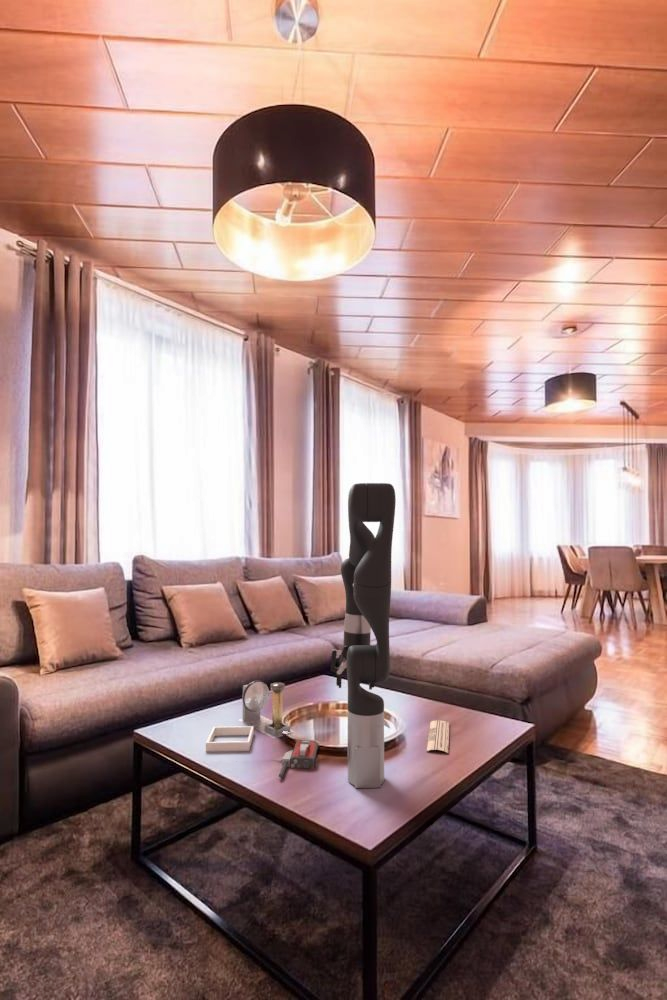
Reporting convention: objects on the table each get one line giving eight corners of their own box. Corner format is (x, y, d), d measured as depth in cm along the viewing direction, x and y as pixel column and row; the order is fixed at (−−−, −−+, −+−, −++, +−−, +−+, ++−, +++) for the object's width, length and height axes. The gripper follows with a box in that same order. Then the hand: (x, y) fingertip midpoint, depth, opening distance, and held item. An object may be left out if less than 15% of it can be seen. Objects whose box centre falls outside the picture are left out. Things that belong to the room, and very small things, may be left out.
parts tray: (249, 754, 149) (249, 742, 149) (205, 755, 148) (205, 742, 148) (253, 738, 161) (253, 726, 161) (213, 738, 160) (213, 726, 160)
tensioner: (297, 734, 163) (297, 689, 164) (271, 743, 157) (272, 695, 158) (261, 717, 178) (261, 675, 179) (236, 724, 172) (236, 680, 173)
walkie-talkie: (289, 749, 154) (276, 781, 134) (289, 733, 154) (276, 763, 134) (319, 750, 153) (310, 783, 133) (319, 734, 153) (310, 765, 133)
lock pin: (284, 733, 161) (284, 686, 162) (269, 734, 161) (269, 686, 162) (284, 728, 165) (285, 682, 166) (270, 728, 165) (270, 682, 166)
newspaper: (448, 757, 149) (448, 750, 149) (422, 754, 151) (422, 748, 151) (449, 726, 172) (449, 721, 172) (427, 724, 174) (427, 719, 174)
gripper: (331, 631, 147) (329, 691, 146) (383, 633, 147) (381, 693, 146) (332, 626, 154) (330, 683, 154) (381, 628, 154) (379, 685, 153)
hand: (355, 688), depth 150 cm, fingers open, 8 cm apart
